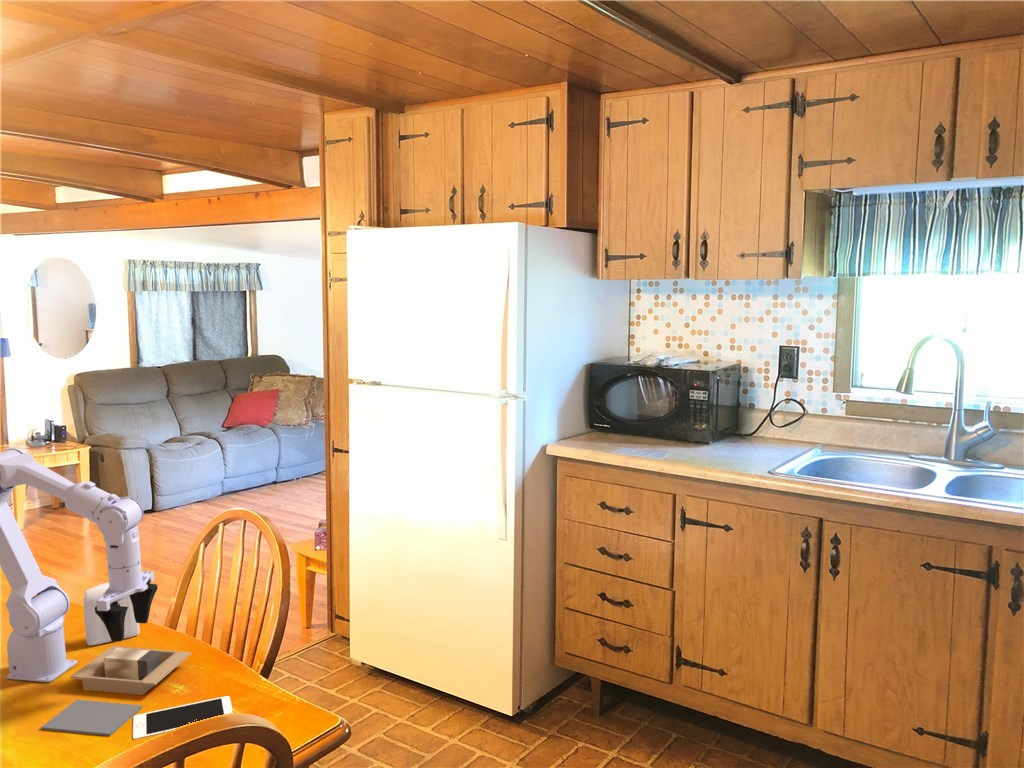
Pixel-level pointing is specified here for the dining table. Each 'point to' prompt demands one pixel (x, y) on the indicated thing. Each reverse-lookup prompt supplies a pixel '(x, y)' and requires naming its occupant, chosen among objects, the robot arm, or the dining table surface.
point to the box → (130, 663)
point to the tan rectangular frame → (97, 681)
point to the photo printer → (95, 625)
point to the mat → (92, 717)
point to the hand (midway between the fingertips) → (129, 631)
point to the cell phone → (178, 716)
